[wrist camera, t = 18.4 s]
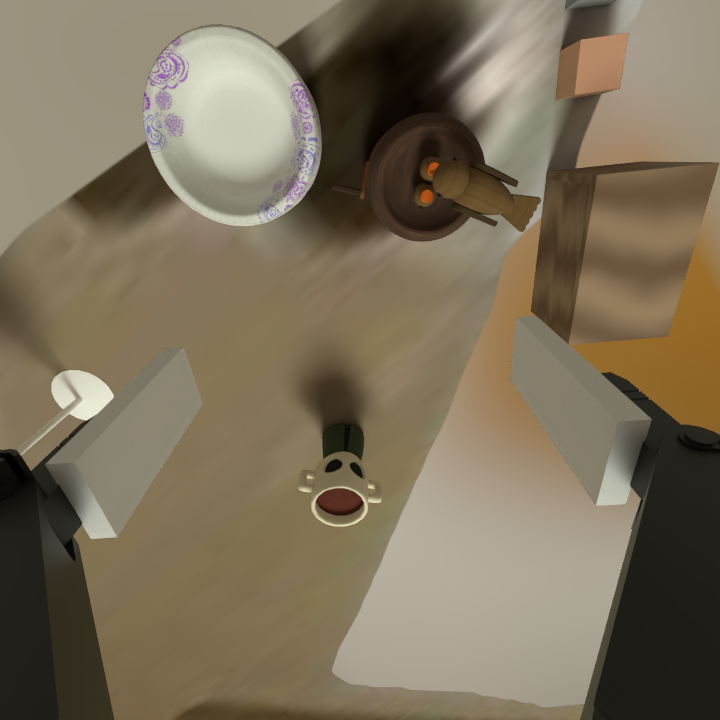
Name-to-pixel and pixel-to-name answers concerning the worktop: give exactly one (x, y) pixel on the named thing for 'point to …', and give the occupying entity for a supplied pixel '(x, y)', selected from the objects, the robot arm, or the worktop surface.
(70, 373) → the wineglass
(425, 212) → the music box
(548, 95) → the worktop surface
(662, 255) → the brown wooden block
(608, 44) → the terracotta block
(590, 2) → the slate block
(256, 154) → the paper bowls
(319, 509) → the character mug
